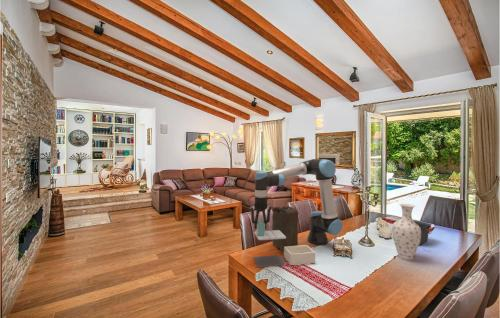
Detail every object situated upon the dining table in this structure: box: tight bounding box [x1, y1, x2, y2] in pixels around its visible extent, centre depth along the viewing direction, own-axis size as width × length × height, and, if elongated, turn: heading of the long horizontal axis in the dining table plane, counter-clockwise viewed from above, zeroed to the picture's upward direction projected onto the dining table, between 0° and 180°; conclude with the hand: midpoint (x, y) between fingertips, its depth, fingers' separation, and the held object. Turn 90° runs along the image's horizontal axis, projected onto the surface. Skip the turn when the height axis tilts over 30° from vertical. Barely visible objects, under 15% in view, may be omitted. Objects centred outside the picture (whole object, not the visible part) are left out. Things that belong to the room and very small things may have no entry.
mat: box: [252, 254, 286, 269], centre depth 152 cm, size 18×14×1 cm
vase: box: [391, 203, 421, 261], centre depth 159 cm, size 16×16×35 cm
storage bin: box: [413, 220, 433, 246], centre depth 186 cm, size 21×16×14 cm
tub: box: [283, 244, 316, 266], centre depth 154 cm, size 16×12×7 cm
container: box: [271, 205, 299, 254], centre depth 173 cm, size 23×10×30 cm, turn 22°
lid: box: [253, 219, 286, 241], centre depth 152 cm, size 17×13×9 cm
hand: (260, 233), depth 151 cm, fingers closed on lid, 3 cm apart
